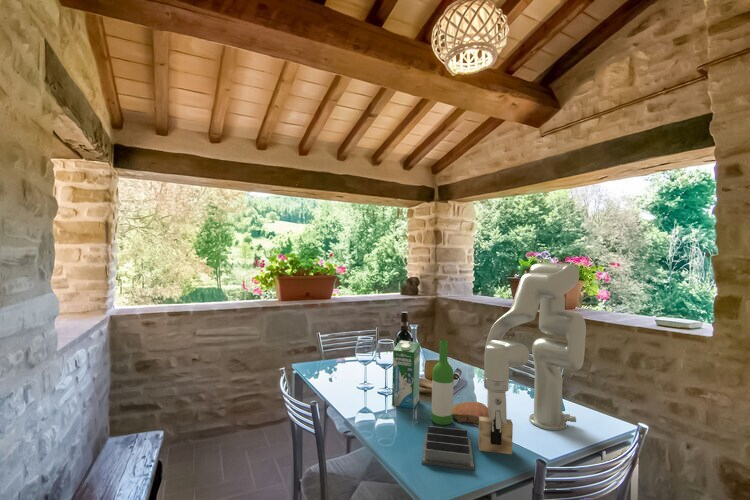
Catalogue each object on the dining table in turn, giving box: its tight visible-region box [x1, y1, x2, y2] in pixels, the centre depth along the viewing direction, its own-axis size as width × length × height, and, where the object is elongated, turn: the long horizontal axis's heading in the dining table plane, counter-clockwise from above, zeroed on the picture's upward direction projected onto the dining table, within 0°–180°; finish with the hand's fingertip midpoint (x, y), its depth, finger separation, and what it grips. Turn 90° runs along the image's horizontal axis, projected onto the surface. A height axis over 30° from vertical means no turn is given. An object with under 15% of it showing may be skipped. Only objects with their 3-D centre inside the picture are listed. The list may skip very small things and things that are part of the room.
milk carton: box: [391, 339, 421, 410], centre depth 157 cm, size 9×9×25 cm
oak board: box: [477, 416, 514, 455], centre depth 121 cm, size 10×3×10 cm, turn 79°
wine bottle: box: [430, 339, 454, 426], centre depth 141 cm, size 8×8×30 cm
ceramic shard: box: [452, 401, 489, 425], centre depth 146 cm, size 15×6×15 cm
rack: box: [421, 425, 475, 471], centre depth 119 cm, size 15×17×4 cm
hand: (495, 440), depth 121 cm, fingers closed on oak board, 3 cm apart
